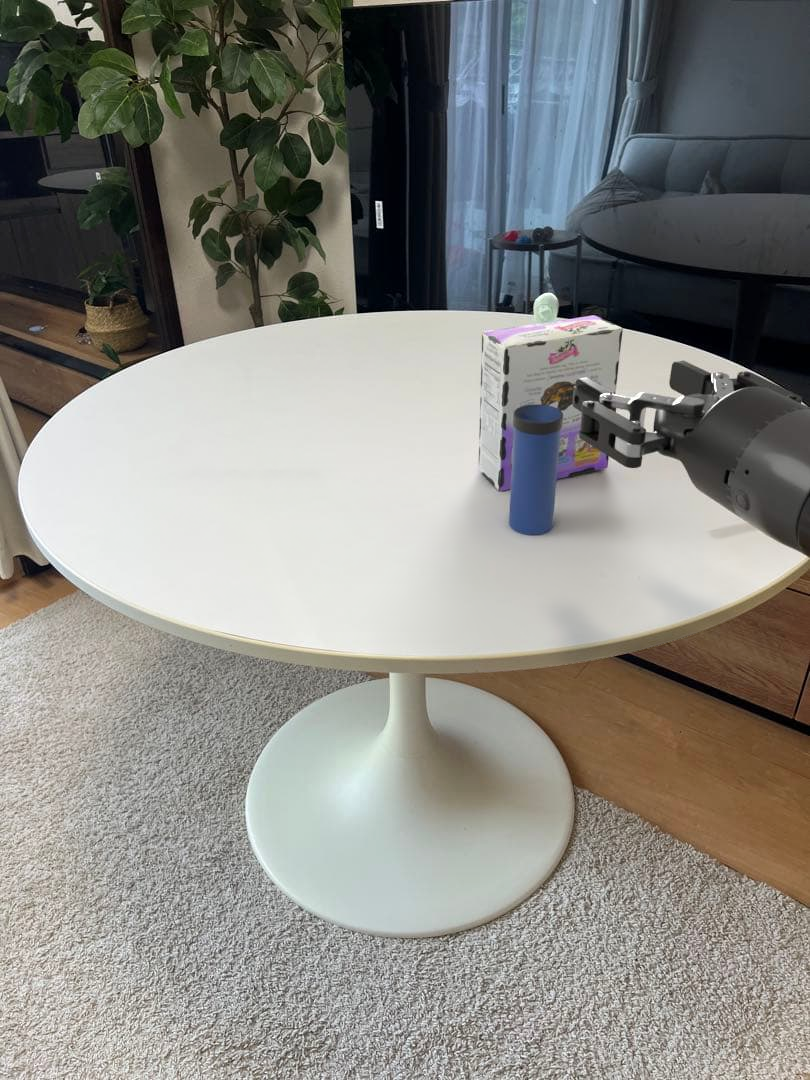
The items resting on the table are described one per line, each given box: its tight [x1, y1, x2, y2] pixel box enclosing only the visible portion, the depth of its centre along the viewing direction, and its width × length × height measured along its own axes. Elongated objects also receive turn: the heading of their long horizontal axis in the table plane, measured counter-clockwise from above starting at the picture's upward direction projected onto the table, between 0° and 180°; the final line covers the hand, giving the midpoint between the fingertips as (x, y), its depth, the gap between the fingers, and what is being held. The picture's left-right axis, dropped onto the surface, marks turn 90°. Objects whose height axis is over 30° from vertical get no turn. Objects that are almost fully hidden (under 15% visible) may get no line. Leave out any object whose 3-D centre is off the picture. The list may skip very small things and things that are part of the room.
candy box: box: [477, 314, 624, 492], centre depth 86 cm, size 14×6×16 cm, turn 110°
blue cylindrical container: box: [508, 405, 563, 536], centre depth 77 cm, size 5×5×12 cm
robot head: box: [533, 292, 560, 324], centre depth 132 cm, size 8×4×7 cm, turn 178°
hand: (627, 381), depth 60 cm, fingers open, 8 cm apart
